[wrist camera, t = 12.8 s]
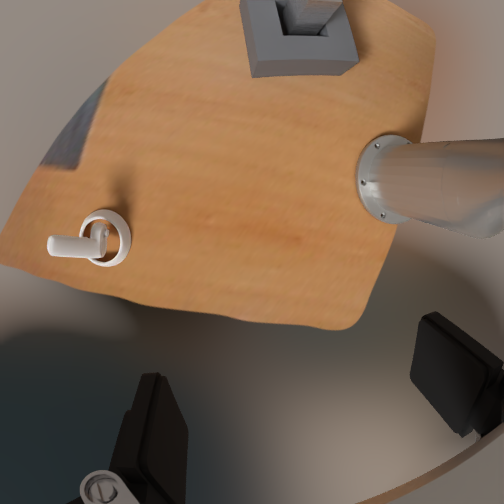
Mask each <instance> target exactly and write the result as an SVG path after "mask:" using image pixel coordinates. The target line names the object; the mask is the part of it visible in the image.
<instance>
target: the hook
mask: <svg viewBox="0 0 504 504" xmlns="http://www.w3.org/2000/svg"><path fill="white" fill-rule="evenodd" d="M95 219H104V220H107V221H109V222H110V223H112V224H113V225H114V226H115V228H116V229H117V231H118V233H119V236H120V249H119V252H118V253H117V255H116V256H115V257H114V258H113V259H112V260H110V261H108V262H100V261H97V260H95V259H94V258H102V257H104V255H105V253H106V249H107V237H108V236H109V230H108V229H107V226H106V225H105V224H103V223H101V222H98V223H95V224H93V226H92V229H91V234H90V238H88V237H83V233H84V229H85V227H86V225H87V224H88V223H89V222H91V221H93V220H95ZM130 246H131V234H130V230H129V227H128V225H127V223H126V222H125V220H124V219H123V218H122V217H121V216H120V215H119V214H117V213H116V212H113V211H111V210H106V209H101V210H97V211H94V212H93V213H91V214H90V215H89V216H87V218H86V219H85V220H84V222H83V224H82V226H81V230H80V235H79V237H74V236H65V235H51V236H50V237H49V238H48V242H47V250H48V252H49V253H50V255H52V256H61V257H79V258H88V259H89V260H90V261H91V262H93V263H95V264H97V265H100V266H108V267H109V266H114V265H117V264H119V263H120V262H122V261H123V260H124V259H125V257H126V256H127V254H128V252H129V250H130Z"/></svg>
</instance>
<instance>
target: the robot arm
mask: <svg viewBox="0 0 504 504" xmlns="http://www.w3.org/2000/svg"><path fill="white" fill-rule="evenodd" d="M355 179H356V188H357V192H358V195H359V198H360V200H361V202H362V204H363V206H364V207H365V209H366V210H367V211H368V212H369V213H370V214H371V215H372V216H373V217H375V218H376V219H378V220H380V221H382V222H385V223H389V224H400V223H404V222H406V221H408V220H410V219H415V220H419V221H422V222H425V223H429V224H432V225H435V226H438V227H442V228H445V229H448V230H451V231H454V232H457V233H460V234H464V235H467V236H469V237H473V238H479V239H485V238H490V237H493V236H495V235H497V234H499V233H500V232H502V231H503V230H504V138H500V139H487V140H463V141H443V142H428V143H415V144H413V143H412V142H411V141H409V140H408V139H406V138H404V137H401V136H398V135H385V136H381V137H378V138H376V139H374V140H372V141H371V142H370V143H369V144H367V145H366V147H365V148H364V149H363V151H362V153H361V155H360V157H359V159H358V162H357V166H356V174H355ZM361 180H362V184H361ZM502 366H503V361H502V360H500V359H499V358H498V357H497V356H495V355H494V354H493V353H491V352H490V351H489V350H487V349H486V348H485V347H484V346H482V345H481V344H480V343H479V342H477V341H476V340H474V339H473V338H472V337H470V336H469V335H468V334H467V333H465V332H464V331H462V330H461V329H460V328H459V327H457V326H456V325H455V324H453V323H452V322H451V321H449V320H448V319H446V318H445V317H444V316H442V315H441V314H440V313H438V312H432V313H429V314H426V315H424V316H423V317H422V319H421V321H420V322H419V325H418V332H417V338H416V344H415V350H414V355H413V361H412V366H411V371H410V379H411V381H412V382H413V383H414V384H415V386H416V387H417V388H418V389H419V391H420V392H421V393H422V394H423V395H424V396H425V398H426V399H427V400H428V401H429V402H430V404H431V405H432V406H433V407H434V408H435V410H436V411H437V412H438V413H439V414H440V415H441V417H442V418H443V419H444V421H445V422H446V423H447V424H448V425H449V427H450V428H451V429H452V430H453V431H454V432H455V433H459V435H460V436H461V437H462V438H463V437H464V436H466V435H467V434H469V433H471V432H472V430H473V429H475V430H476V442H475V443H474V444H473V445H472V446H470V447H469V448H467V449H466V450H464V451H463V452H461V453H459V454H458V455H456V456H455V457H453V458H451V459H450V460H448V461H447V462H445V463H443V464H441V465H440V466H438V467H436V468H434V469H432V470H431V471H429V472H427V473H425V474H423V475H421V476H419V477H417V478H415V479H413V480H411V481H409V482H407V483H405V484H403V485H401V486H398V487H396V488H394V489H392V490H389V491H387V492H385V493H382V494H380V495H377V496H375V497H372V498H370V499H367V500H364V501H362V502H359V503H356V504H504V370H503V369H502ZM187 449H188V428H187V425H186V423H185V420H184V418H183V416H182V414H181V411H180V409H179V407H178V405H177V402H176V400H175V398H174V395H173V393H172V390H171V388H170V385H169V383H168V380H167V378H166V377H165V376H161V374H159V373H158V372H157V373H144V374H142V376H141V380H140V382H139V385H138V389H137V392H136V395H135V398H134V402H133V405H132V408H131V410H128V411H126V413H125V415H124V418H123V421H122V425H121V428H120V431H119V435H118V438H117V441H116V445H115V449H114V452H113V456H112V459H111V463H110V467H109V470H108V471H105V470H101V471H95V472H92V473H91V474H89V475H88V476H86V477H85V478H84V480H83V481H82V483H81V486H80V494H81V496H80V497H78V498H76V499H75V500H73V501H71V502H69V503H67V504H185V495H186V469H187Z"/></svg>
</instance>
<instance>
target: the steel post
mask: <svg viewBox="0 0 504 504" xmlns="http://www.w3.org/2000/svg"><path fill="white" fill-rule="evenodd" d="M342 2H343V1H342V0H288V1H287V3H286V5H285V8H284V10H283V12H282V14H281V17H280V19H279V20H280V25H281V29H282V34H283V36H316V35H317V33H318V32H319V31H320V29H321V28H322V27H323V26H324V24H325V23H326V22H327V21H328V19H329V18H330V17H331V16H332V14H333V13H334V12H335V11H336V10H337V8H338V7H339V6H340V5H341V4H342Z"/></svg>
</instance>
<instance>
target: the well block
mask: <svg viewBox="0 0 504 504" xmlns="http://www.w3.org/2000/svg"><path fill="white" fill-rule="evenodd" d="M287 1H288V0H240V5H239V7H240V13H241V18H242V23H243V29H244V35H245V40H246V46H247V52H248V58H249V64H250V70H251V76H252V78H258V77H272V76H293V75H337V76H340V75H342V74H343V73H345V72H346V71H347V70H349V69H350V68H352V67H353V66H354V65H356V64H357V63H359V58H358V54H357V50H356V46H355V42H354V38H353V35H352V31H351V28H350V25H349V21H348V18H347V15H346V12H345V9H344V5H343V2H342V4H341V5H340V6H339V7H338V8H337V10H336V11H335V12H334V13H333V14H332V16H331V17H330V18H329V19H328V21H327V22H326V23H325V24H324V26H323V27H322V28H321V29H320V31H319V32H318V33H317V35H316V36H283V34H282V29H281V25H280V20H279V19H280V17H281V14H282V12H283V10H284V8H285V5H286V3H287Z"/></svg>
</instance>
